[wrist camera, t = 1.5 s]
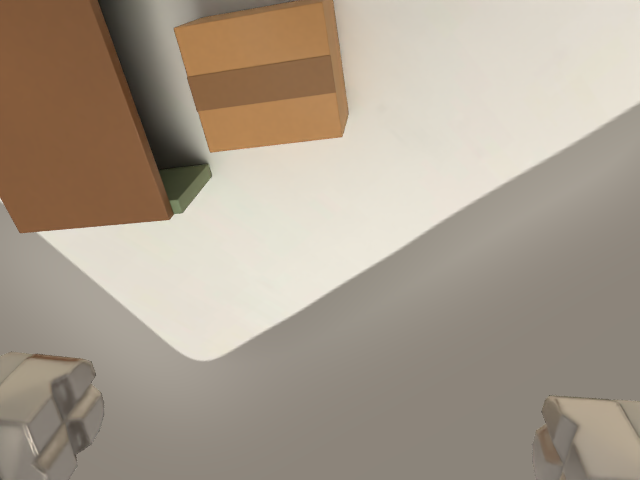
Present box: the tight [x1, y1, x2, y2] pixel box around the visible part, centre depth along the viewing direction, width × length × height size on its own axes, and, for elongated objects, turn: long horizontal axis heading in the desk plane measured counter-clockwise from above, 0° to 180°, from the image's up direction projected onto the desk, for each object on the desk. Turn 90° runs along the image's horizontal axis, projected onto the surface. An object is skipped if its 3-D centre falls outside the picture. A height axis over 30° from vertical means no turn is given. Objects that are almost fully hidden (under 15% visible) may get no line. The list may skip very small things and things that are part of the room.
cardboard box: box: [174, 0, 349, 152], centre depth 26 cm, size 8×6×4 cm
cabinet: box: [0, 0, 212, 233], centre depth 28 cm, size 10×12×6 cm
